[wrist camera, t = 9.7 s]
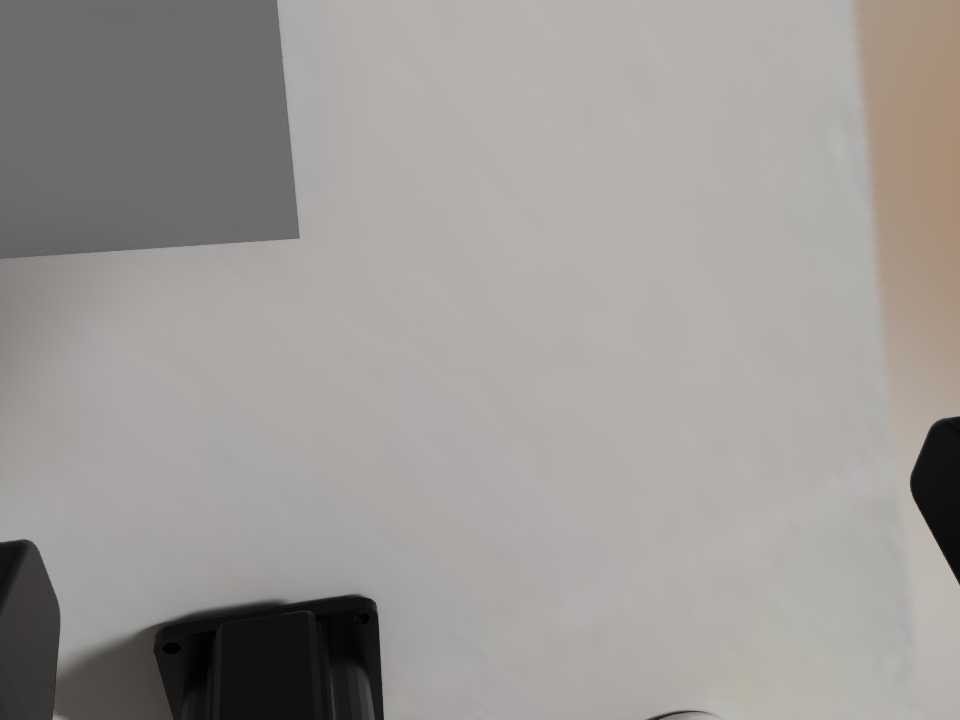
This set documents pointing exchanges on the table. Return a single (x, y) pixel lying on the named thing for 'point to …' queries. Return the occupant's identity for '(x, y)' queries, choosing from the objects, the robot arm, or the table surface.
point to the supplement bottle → (692, 716)
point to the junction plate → (142, 126)
